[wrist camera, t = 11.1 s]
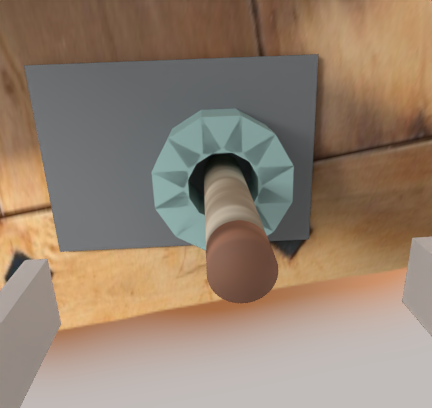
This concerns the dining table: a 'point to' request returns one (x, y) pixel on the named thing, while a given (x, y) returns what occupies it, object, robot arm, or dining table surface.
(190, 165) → the bead
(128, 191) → the mat
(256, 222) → the dowel
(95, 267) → the dining table surface
